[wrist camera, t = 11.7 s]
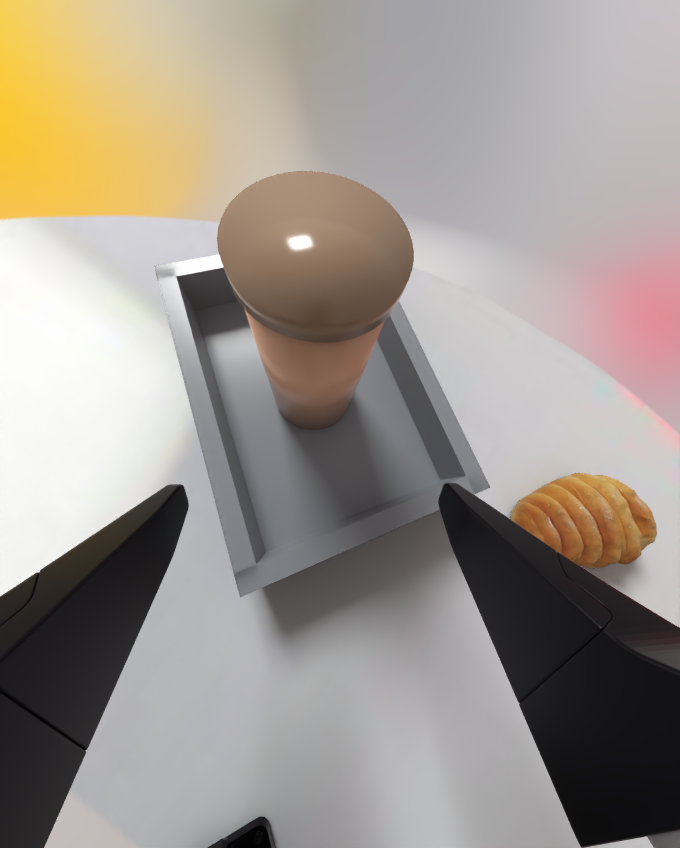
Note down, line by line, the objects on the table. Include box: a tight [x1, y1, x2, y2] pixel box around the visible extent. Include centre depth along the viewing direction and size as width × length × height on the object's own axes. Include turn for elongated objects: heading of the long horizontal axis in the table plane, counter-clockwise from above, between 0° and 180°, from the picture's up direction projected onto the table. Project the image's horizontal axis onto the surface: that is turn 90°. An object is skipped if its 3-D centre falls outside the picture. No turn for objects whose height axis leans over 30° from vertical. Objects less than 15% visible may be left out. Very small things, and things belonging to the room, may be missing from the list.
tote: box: [154, 255, 490, 597], centre depth 20 cm, size 22×16×4 cm
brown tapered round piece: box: [217, 171, 414, 430], centre depth 15 cm, size 6×6×13 cm
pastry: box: [510, 473, 657, 569], centre depth 20 cm, size 9×7×4 cm
